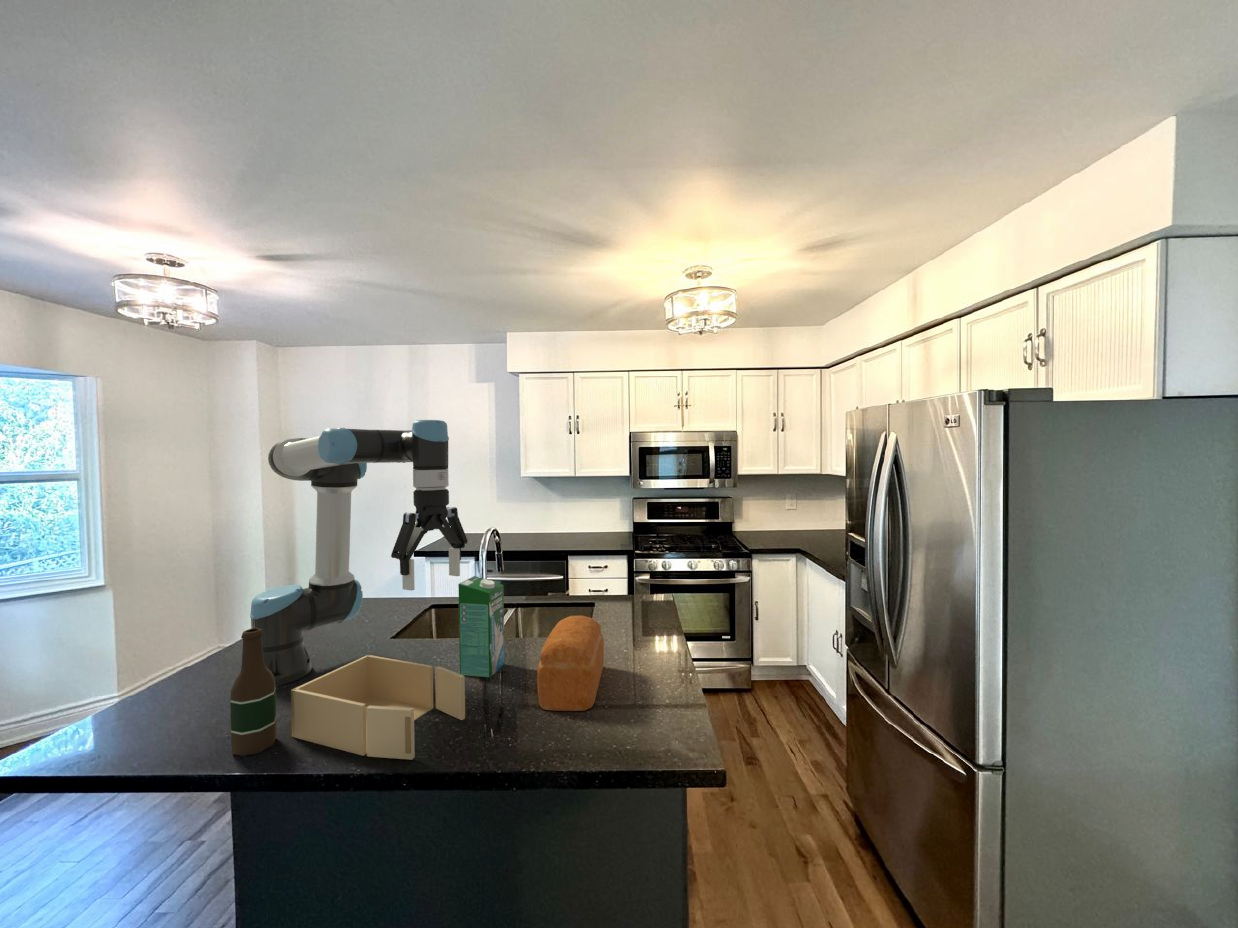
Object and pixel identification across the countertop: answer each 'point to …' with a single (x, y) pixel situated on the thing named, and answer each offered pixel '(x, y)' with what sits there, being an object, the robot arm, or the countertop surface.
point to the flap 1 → (390, 732)
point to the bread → (571, 665)
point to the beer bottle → (253, 700)
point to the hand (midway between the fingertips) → (432, 582)
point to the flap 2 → (450, 692)
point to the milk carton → (481, 627)
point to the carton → (357, 700)
